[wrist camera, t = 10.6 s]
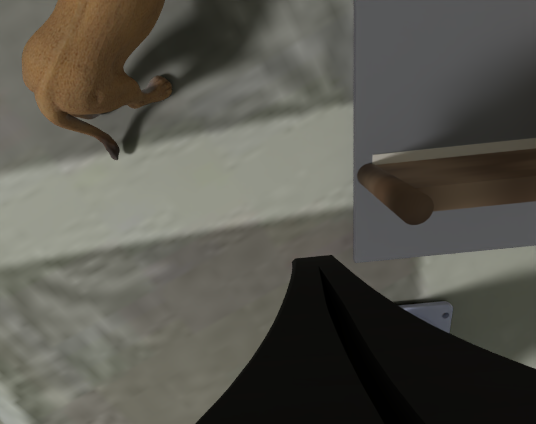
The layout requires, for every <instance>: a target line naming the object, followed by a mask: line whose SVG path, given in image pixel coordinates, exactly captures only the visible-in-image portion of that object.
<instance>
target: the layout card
mask: <svg viewBox="0 0 536 424" xmlns="http://www.w3.org/2000/svg"><path fill="white" fill-rule="evenodd" d="M535 148H536V0H354V242H353V260H354V262H355V263H359V262H369V261H379V260H389V259H400V258H410V257H420V256H431V255H441V254H451V253H462V252H472V251H482V250H492V249H503V248H513V247H523V246H534V245H536V201H534V202H524V203H513V204H503V205H493V206H483V207H473V208H463V209H453V210H443V211H433V213H432V215H431V216H430V218H429V219H428V220H426V221H425V222H423V223H421V224H418V225H409V224H407V223H405V222H404V221H403V220H402V219H400V218H399V217H398V216H397V215H396V214H395V213H394V212H392V211H391V210H390V209H389V208H388V207H387V206H385V205H384V204H383V203H382V202H381V201H380V200H379V199H377V198H376V197H375V196H374V195H373V194H372V193H371V192H369V191H368V190H367V189H366V188H365V187H364V186H363V185H361V184H360V183H359V181H358V179H357V173H358V171H359V169H360V168H361V167H362V166H363V165H365V164H369V163H371V164H375V165H379V164H389V163H399V162H408V161H418V160H428V159H437V158H447V157H457V156H467V155H476V154H486V153H496V152H506V151H515V150H525V149H535Z"/></svg>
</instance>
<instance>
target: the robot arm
mask: <svg viewBox="0 0 536 424" xmlns="http://www.w3.org/2000/svg"><path fill="white" fill-rule="evenodd" d="M444 313H445V314H444ZM452 313H453V306H452V305H451V304H450V303H449V302H447V301H441V302H430V303H420V304H409V305H399V306H398V305H396V304H395V303H393V302H392V301H390V300H389V299H387V298H386V297H384V296H383V295H381V294H380V293H378V292H377V291H375V290H374V289H373V288H371V287H370V286H369V285H367V284H366V283H365V282H363V281H362V280H361V279H360V278H358V277H357V276H356V275H355V274H353V273H352V272H351V271H350V270H349V269H347V268H346V267H345V266H344V265H343V264H342V263H340V262H339V261H338V260H337V259H336V258H334V257H333V256H332V255H327V256H317V257H307V258H297V259H294V260H293V261H292V274H291V279H290V283H289V286H288V289H287V292H286V295H285V298H284V300H283V303H282V305H281V308H280V310H279V312H278V315H277V317H276V319H275V321H274V323H273V325H272V327H271V328H270V330H269V332H268V334H267V335H266V337H265V339H264V340H263V342H262V343H261V345H260V347H259V348H258V350H257V351H256V353H255V354H254V356H253V357H252V359H251V360H250V361H249V363H248V364H247V365H246V367H245V368H244V369H243V370H242V372H241V373H240V374H239V376H238V377H237V378H236V379H235V381H234V382H233V383H232V384H231V386H230V387H229V388H228V389H227V390H226V392H225V393H224V394H223V395H222V396H221V397H220V398H219V399H218V400H217V401H216V403H215V404H214V405H213V406H212V407H211V408H210V409H209V410H208V411H207V412H206V413H205V414H204V415H203V416H202V417H201V418H200V419H199V420H198V421H197V423H196V424H536V369H534V368H531V367H529V366H526V365H523V364H521V363H518V362H516V361H513V360H510V359H508V358H505V357H503V356H500V355H498V354H495V353H492V352H490V351H488V350H485V349H483V348H481V347H478V346H476V345H473V344H471V343H469V342H467V341H464V340H462V339H460V338H458V337H456V336H454V335H452V334H450V326H451V319H452ZM443 314H444V315H443Z"/></svg>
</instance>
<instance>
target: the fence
mask: <svg viewBox="0 0 536 424" xmlns="http://www.w3.org/2000/svg"><path fill="white" fill-rule="evenodd" d="M357 179H358V181H359V183H360V184H361V185H363V186H364V187H365V188H366V189H367V190H368V191H369V192H371V193H372V194H373V195H374V196H375V197H376V198H377V199H379V200H380V201H381V202H382V203H383V204H384V205H385V206H387V207H388V208H389V209H390V210H391V211H392V212H394V213H395V214H396V215H397V216H398V217H399V218H400V219H402V220H403V221H404V222H405V223H407V224H409V225H418V224H421V223H423V222H425V221H426V220H428V219H429V218H430V216H431V215H432V213H433V211H443V210H453V209H463V208H473V207H483V206H493V205H503V204H513V203H524V202H534V201H536V148H535V149H525V150H515V151H506V152H496V153H486V154H476V155H467V156H457V157H447V158H437V159H428V160H418V161H408V162H399V163H389V164H379V165H375V164H371V163H369V164H365V165H363V166H362V167H361V168H360V169H359V171H358V173H357Z"/></svg>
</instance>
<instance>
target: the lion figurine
mask: <svg viewBox="0 0 536 424" xmlns="http://www.w3.org/2000/svg"><path fill="white" fill-rule="evenodd" d="M164 2H165V0H58V2H57V4H56V7H55V9H54V11H53V13H52V14H51V16H50V17H49V18H48V20H47V21H46V22H45V23H44V24H43V25H42V26H41V27H40V28H39V29H38V30H37V31H36V32H35V33H34V34H33V36H32V37H31V38H30V39H29V40H28V42H27V43H26V45H25V47H24V50H23V54H22V73H23V80H24V82H25V84H26V86H27V87H28V88H29V89H30V90H31V91H32V92H34V94H35V99H36V101H37V104H38V107H39V109H40V110H41V112H42V113H43V114H44V116H45V117H46V118H48V119H49V120H50V121H51V122H52V123H54V124H55V125H57V126H60V127H62V128H65V129H69V130H73V131H77V132H80V133H84V134H87V135H90V136H93V137H95V138H97V139H98V140H99V141H100V142H102V143H103V144H104V146H105V148H106V150H107V151H108V152H109V154H110V155H111V157H112V158H113V159H114V160H118V155H119V151H120V150H119V147H118V145H117V143H116V142H115V141H114V140H113V139H112V138H111V137H110V136H109V135H108V134H106V133H105V132H103V131H101V130H100V129H98V128H96V127H94V126H92V125H90V124H88V123H86V122H84V121H82V120H79V119H77V118H76V117H80V118H84V119H93V118H96V117H98V116H99V115H100V114H101V113H106V112H111V111H113V110H115V109H118V108H119V107H121V106H123V105H128V106H129V107H131V108H134V109H136V108H139V107H141V106H144V105H147V104H149V103H152V102H158V101H162V100H164V99H166V98H168V97H169V96H170V95H171V93H172V85H171V83H170V82H169V81H168V80H167V79H165V78H164V77H162V76H155V77H154V78H152V79H151V81H150V82H149V84H148V86H147V87H146V88H145V89H144V90H142V91H141V89H140V88H139V85H138V83H137V82H136V81H135V80H134V79H133V78H131V77H129V76H128V75H127V74H126V73H125V72H124V69H123V66H124V63H125V61H126V60H127V58H128V57H129V56H130V54H131V53H132V52H133V51H134V50H135V49H136V48H137V47H138V46H139V45H140V44H141V42H142V41H143V40H144V39H145V38H146V37H147V36H148V35H149V33H150V32H151V30H152V29H153V27H154V25H155V23H156V21H157V20H158V18H159V16H160V13H161V10H162V8H163V5H164ZM74 116H75V117H74Z"/></svg>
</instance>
